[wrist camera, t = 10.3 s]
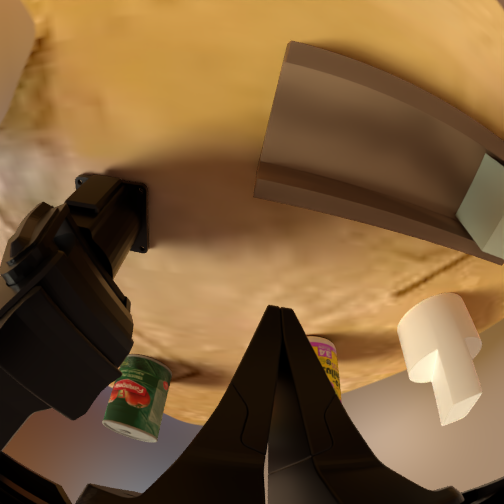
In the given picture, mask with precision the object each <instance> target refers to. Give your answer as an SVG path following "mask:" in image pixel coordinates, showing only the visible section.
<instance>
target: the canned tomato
mask: <svg viewBox="0 0 504 504" xmlns="http://www.w3.org/2000/svg"><path fill="white" fill-rule="evenodd" d="M119 370H120V371H121V372H122V376H121V377H120V378H118V379H117V380H116V381H115V384H114V387H113V390H112V393H111V396H110V400H109V403H108V406H107V410H106V412H105V416H104V419H103V421H102V423H103V425H104V426H106V427H107V428H109V429H111V430H112V431H115V432H117V433H119V434H122V435H124V436H127V437H130V438H133V439H136V440H140V441H146V442H157V438H158V433H159V430H160V425H161V420H162V415H163V411H164V406H165V402H166V398H167V393H168V389H169V386H170V381H171V377H172V372H171V370H170V369H169V368H168V367H167V366H166V365H164V364H163V363H161V362H159V361H157V360H155V359H153V358H150V357H147V356H143V355H138V354H129V355H128V356H127V357H126V359H125V360H124V361H123V363H122V364H121V366H120V369H119Z"/></svg>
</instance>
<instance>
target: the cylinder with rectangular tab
mask: <svg viewBox="0 0 504 504" xmlns="http://www.w3.org/2000/svg"><path fill="white" fill-rule="evenodd" d="M397 333H398V336H399V340H400V344H401V347H402V351H403V355H404V359H405V363H406V367H407V371H408V375H409V378H410V380H411V381H413V382H418V383H426V382H431V381H432V385H433V389H434V393H435V398H436V401H437V406H438V411H439V415H440V420H441V426H444V425H446V424H450V423H452V422H455V421H457V420H460V419H462V418H464V417H466V415H467V414H468V413H469V411H470V410H471V408H472V407H473V406H474V404H475V403H476V401H477V400H478V398H479V397H480V395H481V394H482V389H481V385H480V382H479V379H478V376H477V372H476V369H475V367H474V364H473V361H472V360H473V359H474V358H475V356H476V355H477V354H478V353H479V351H480V349H481V346H482V342H481V339H480V337H479V334H478V332H477V330H476V327H475V325H474V323H473V321H472V318H471V316H470V314H469V312H468V310H467V308H466V306H465V303H464V301H463V299H462V298H461V297H460V296H459V295H458V294H454V293H441V294H438V295H434V296H431V297H429V298H427V299H425V300H423V301H421V302H420V303H418V304H416V305H415V306H414V307H412V308H411V309H410V310H409V311H408V312H407V313H406V314H405V315H404V316H403V317H402V319H401V320H400V322H399V324H398V328H397Z"/></svg>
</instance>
